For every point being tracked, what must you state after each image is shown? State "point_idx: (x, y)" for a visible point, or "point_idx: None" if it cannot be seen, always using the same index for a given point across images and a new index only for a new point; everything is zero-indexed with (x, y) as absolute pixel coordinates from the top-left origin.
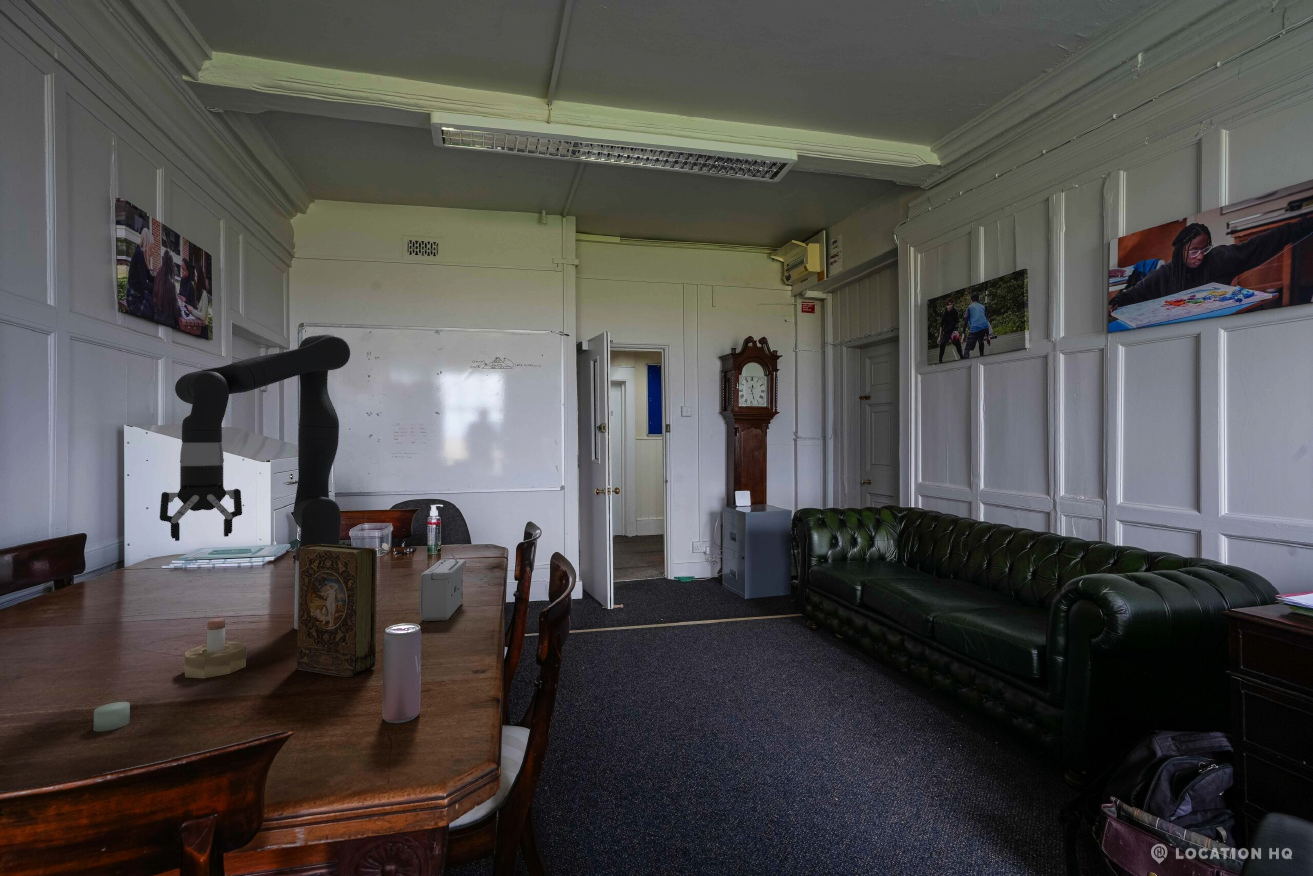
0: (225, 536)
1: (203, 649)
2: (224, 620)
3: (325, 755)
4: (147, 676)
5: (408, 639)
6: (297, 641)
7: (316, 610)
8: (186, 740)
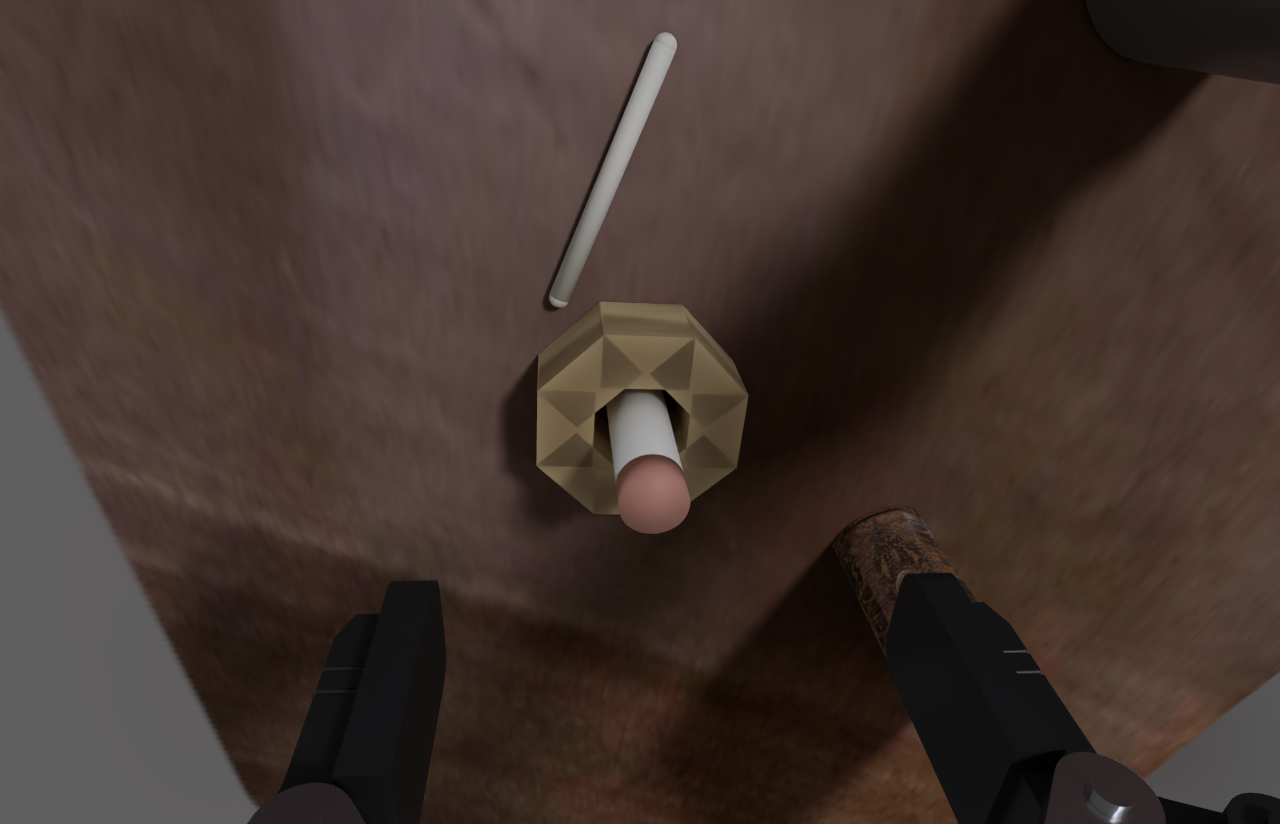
0: (892, 646)
1: (601, 404)
2: (683, 518)
3: None
4: (419, 327)
5: None
6: (865, 609)
7: None
8: (524, 805)
